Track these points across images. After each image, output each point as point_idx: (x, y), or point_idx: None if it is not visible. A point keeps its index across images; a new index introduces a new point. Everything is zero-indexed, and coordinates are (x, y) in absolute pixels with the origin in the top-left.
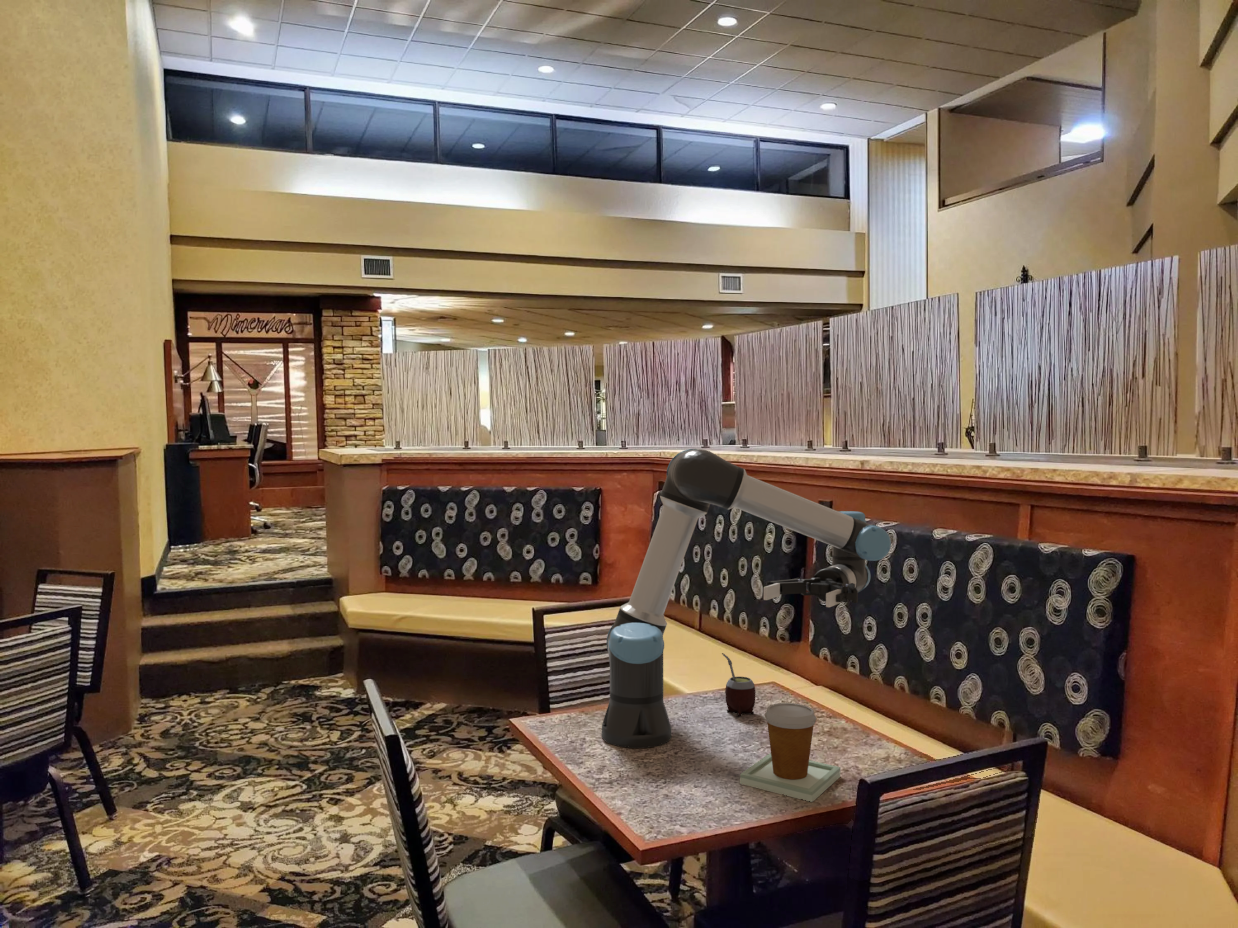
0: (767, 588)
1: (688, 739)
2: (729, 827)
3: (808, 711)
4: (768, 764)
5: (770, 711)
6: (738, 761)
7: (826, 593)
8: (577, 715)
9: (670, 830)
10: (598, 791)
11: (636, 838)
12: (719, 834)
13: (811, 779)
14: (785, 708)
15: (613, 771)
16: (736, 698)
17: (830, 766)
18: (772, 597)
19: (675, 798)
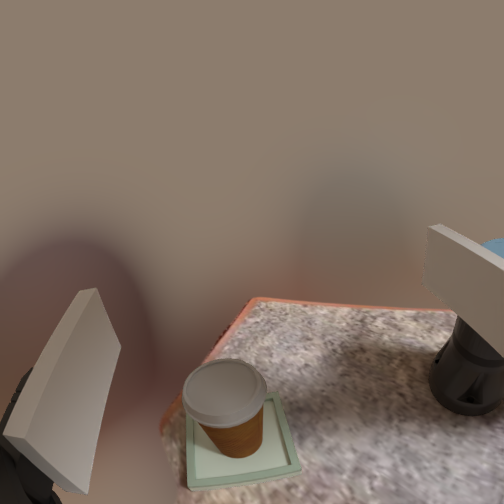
0: (432, 235)
1: (437, 427)
2: (226, 340)
3: (197, 405)
4: (280, 442)
5: (242, 362)
6: (331, 438)
7: (94, 289)
8: None
9: (257, 314)
10: (349, 310)
11: (266, 299)
12: (225, 330)
13: (207, 441)
14: (237, 393)
15: (383, 331)
16: None
17: (200, 480)
18: (460, 313)
19: (298, 341)
